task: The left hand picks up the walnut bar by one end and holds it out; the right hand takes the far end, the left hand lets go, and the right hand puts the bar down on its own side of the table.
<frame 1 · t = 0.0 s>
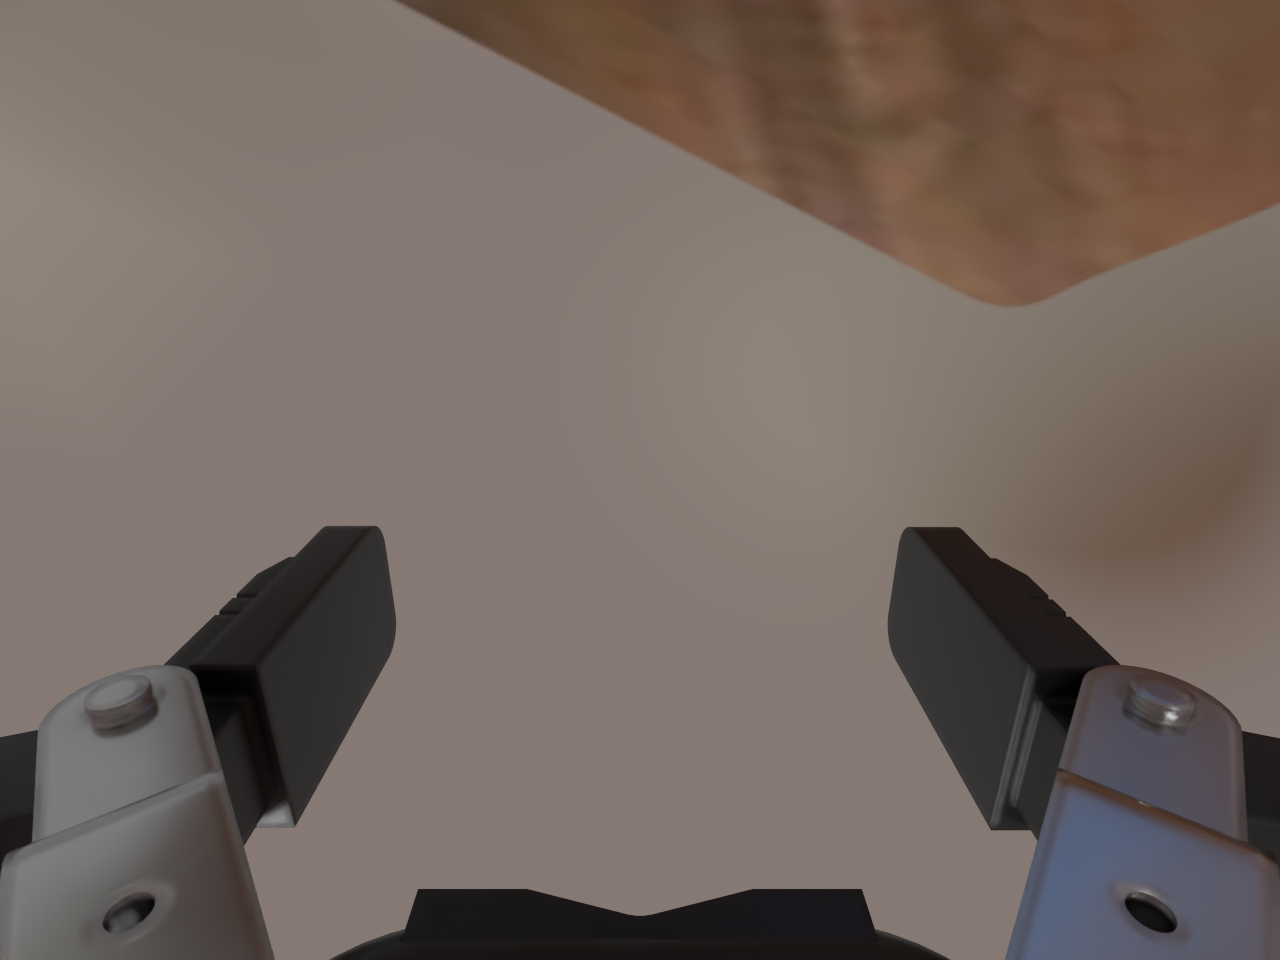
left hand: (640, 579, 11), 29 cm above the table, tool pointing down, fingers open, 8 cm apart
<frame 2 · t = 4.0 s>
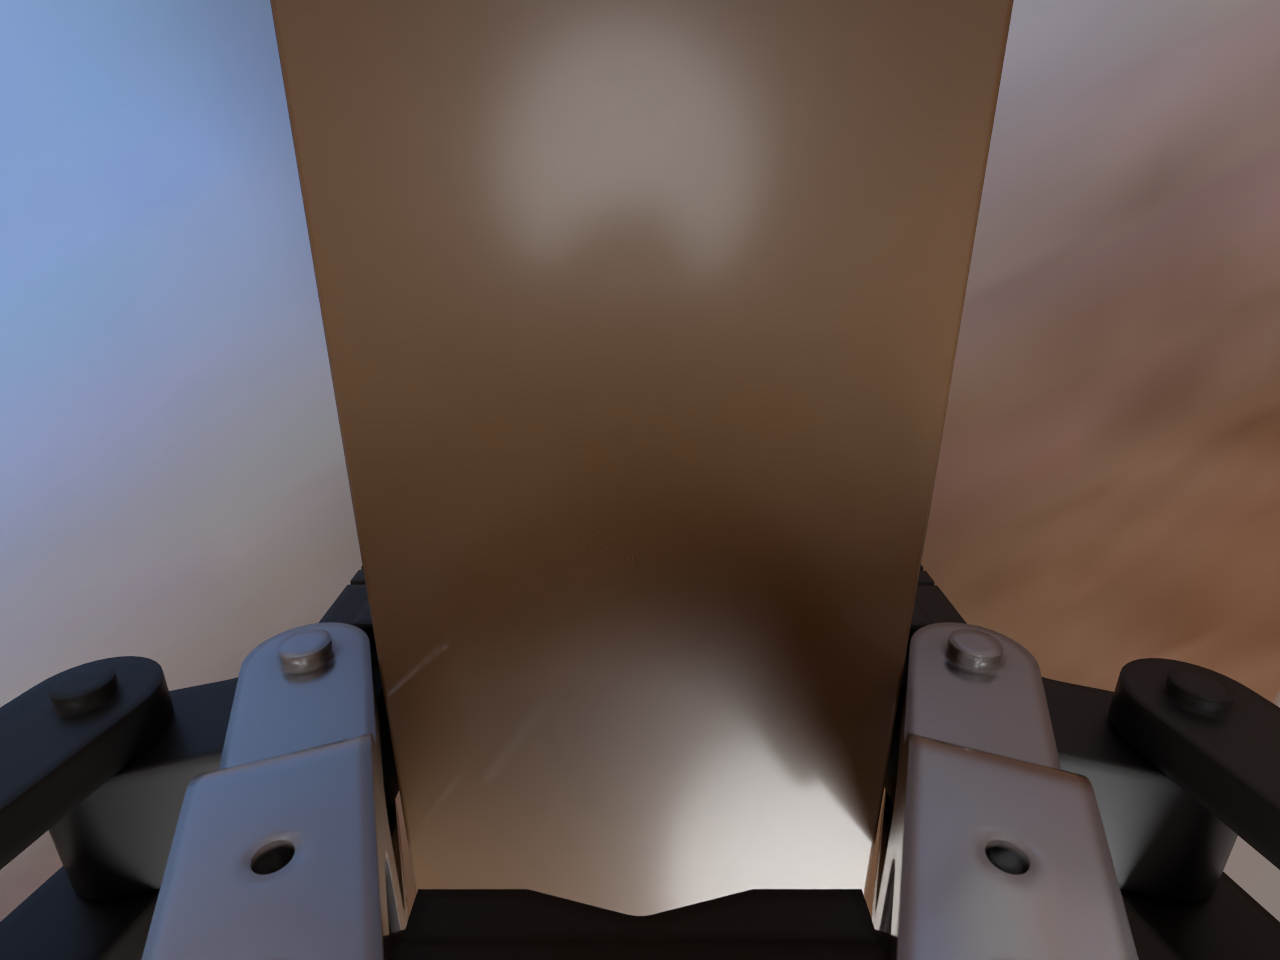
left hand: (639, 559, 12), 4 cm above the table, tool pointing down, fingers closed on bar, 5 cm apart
bar: (641, 75, 12), on the table, touching left hand
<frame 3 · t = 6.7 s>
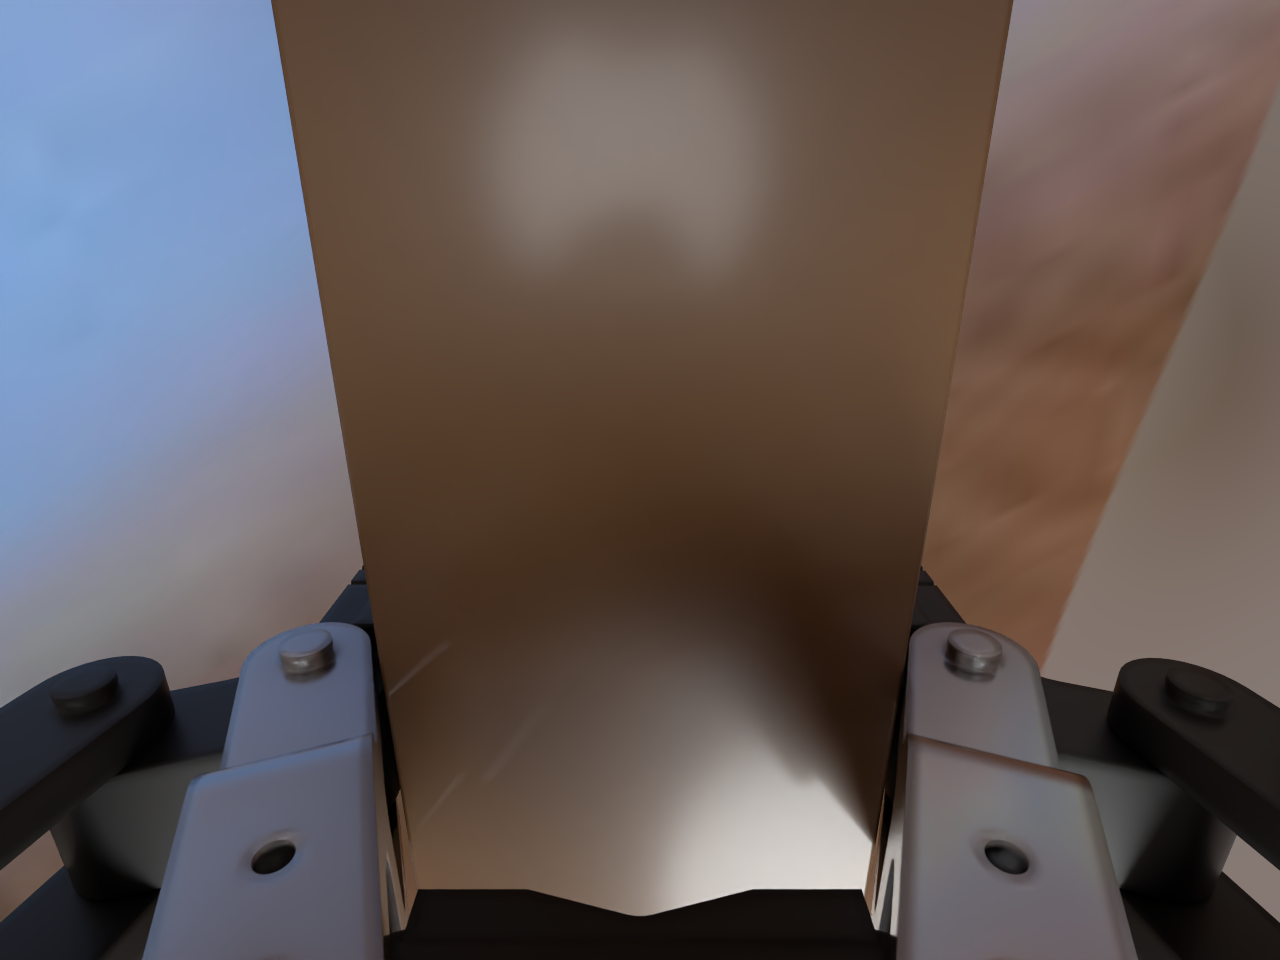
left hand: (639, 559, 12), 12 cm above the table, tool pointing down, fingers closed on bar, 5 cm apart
bar: (641, 75, 12), point 8 cm above the table, touching left hand
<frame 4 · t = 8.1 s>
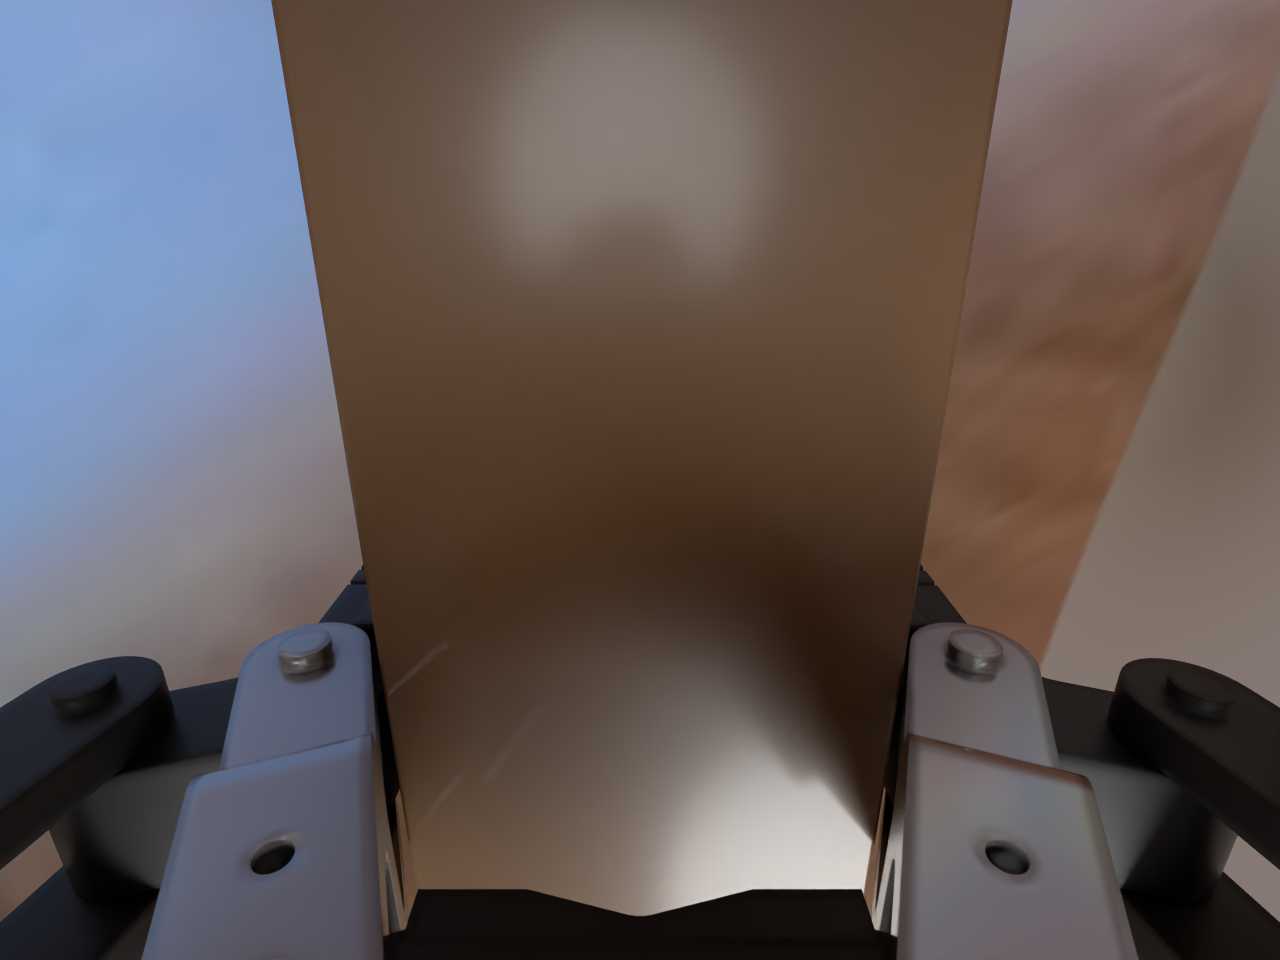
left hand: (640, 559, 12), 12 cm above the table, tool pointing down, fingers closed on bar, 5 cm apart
bar: (641, 75, 12), point 8 cm above the table, touching left hand, right hand
when the left hand's fingers open (12 cm above the table, at t = 9.3 s): bar stays where it is, held by the right hand.
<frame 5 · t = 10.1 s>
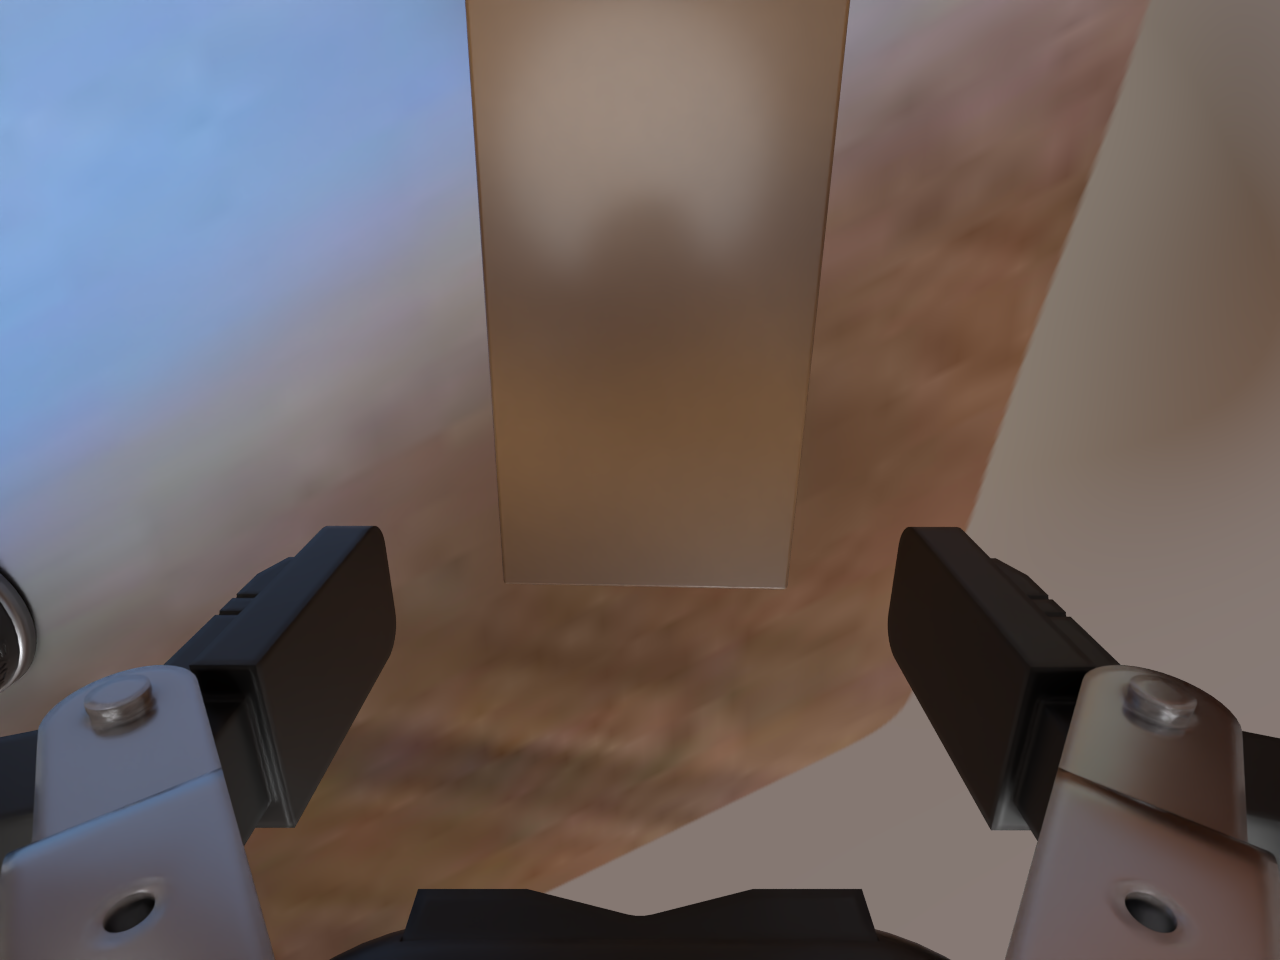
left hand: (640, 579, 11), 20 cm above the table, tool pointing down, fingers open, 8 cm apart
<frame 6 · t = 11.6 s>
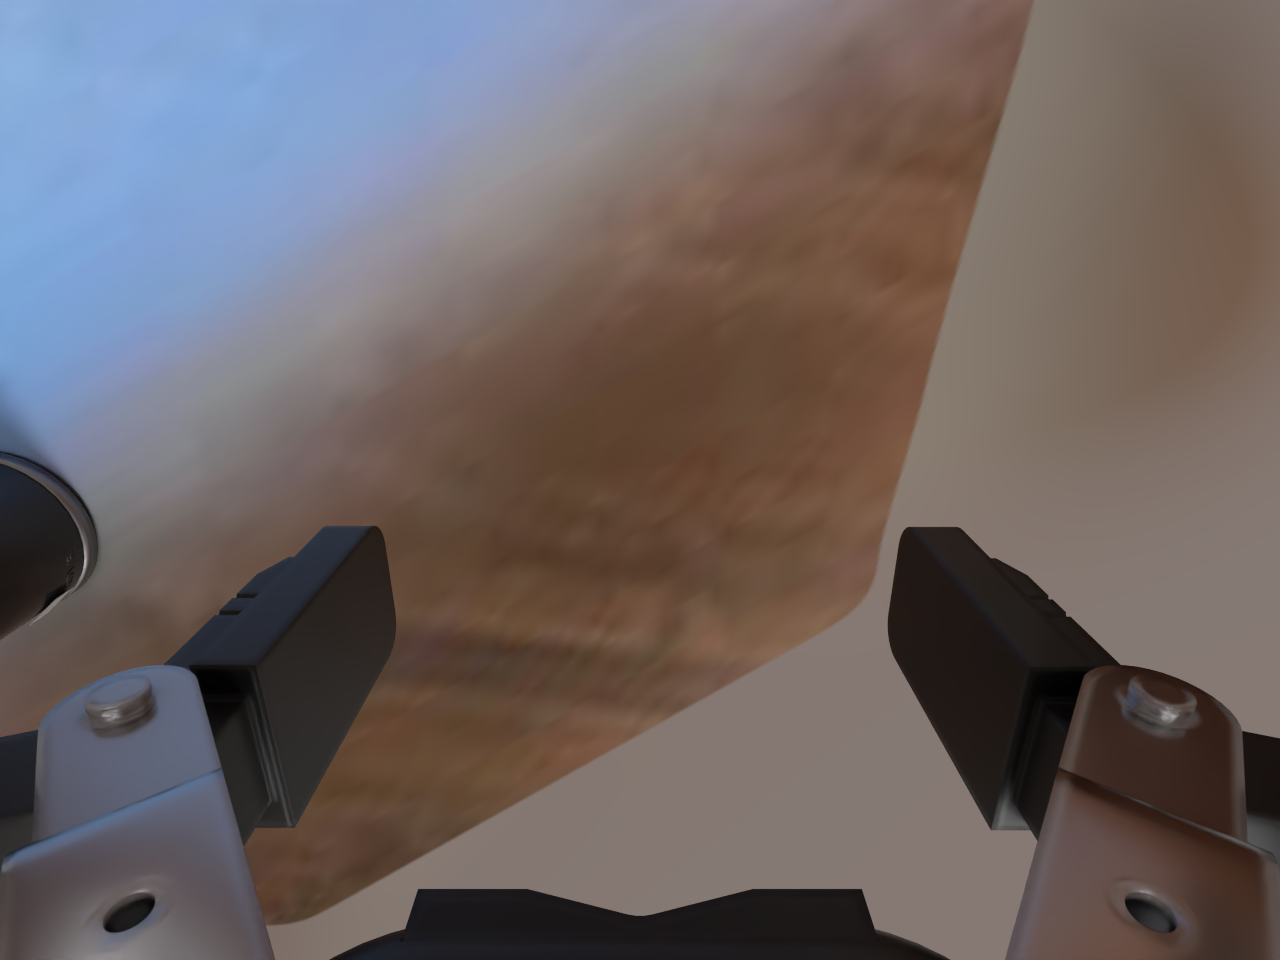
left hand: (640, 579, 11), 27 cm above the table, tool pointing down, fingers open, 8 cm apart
when the right hand's fingers open (4 cm above the table, at t = 15.0 s): bar stays where it is, on the table.
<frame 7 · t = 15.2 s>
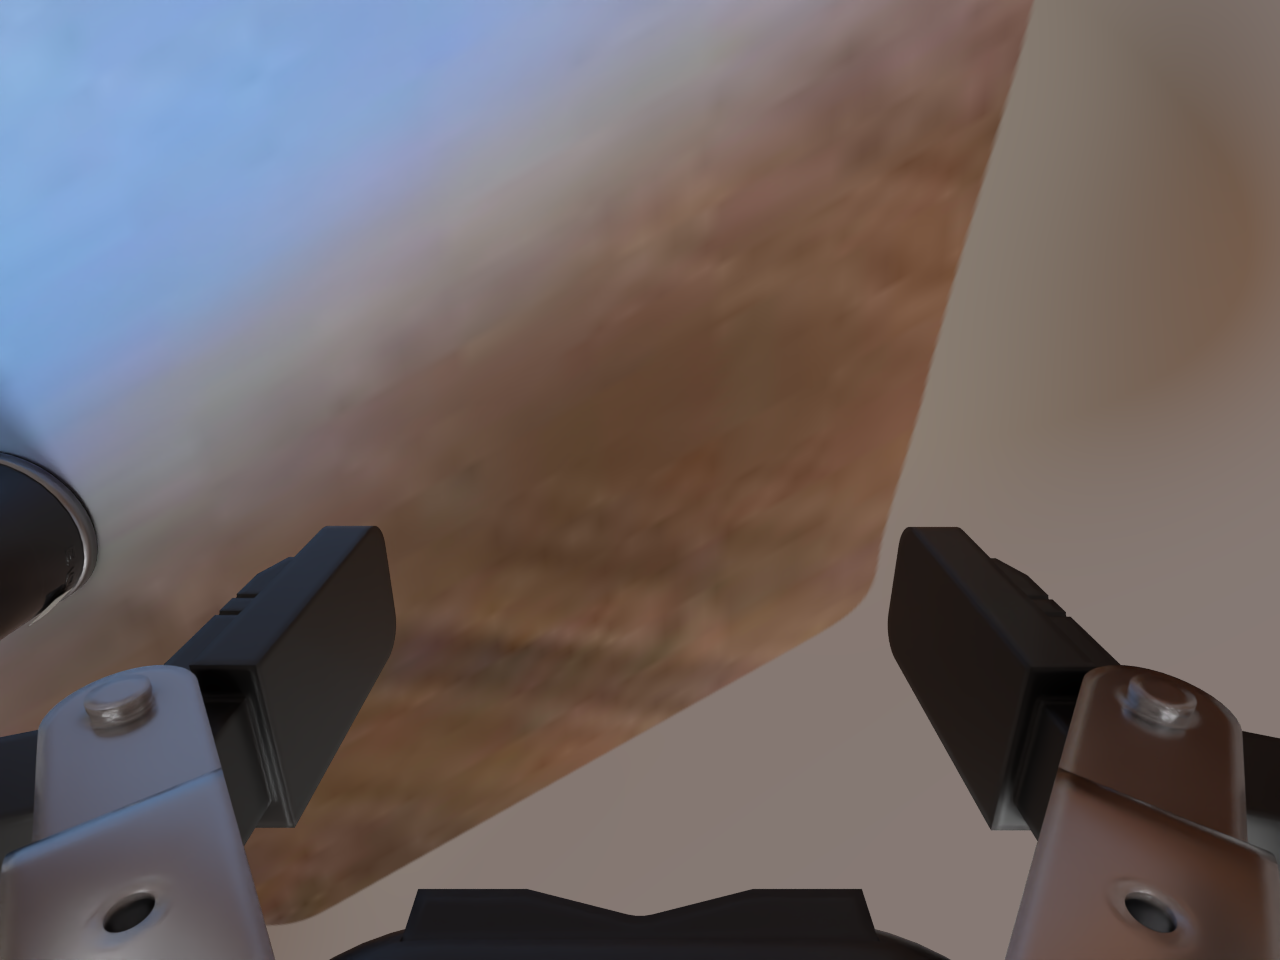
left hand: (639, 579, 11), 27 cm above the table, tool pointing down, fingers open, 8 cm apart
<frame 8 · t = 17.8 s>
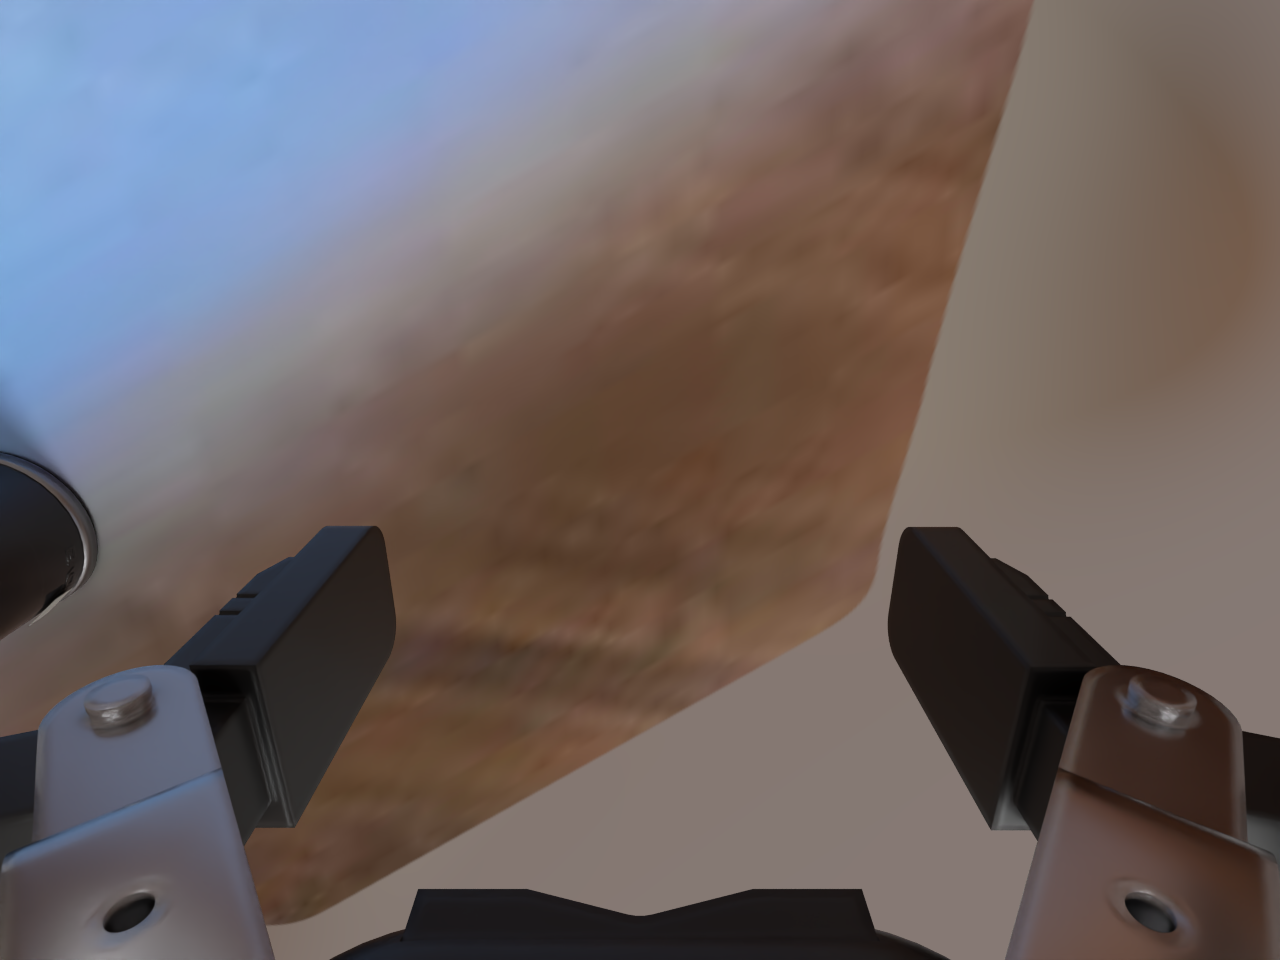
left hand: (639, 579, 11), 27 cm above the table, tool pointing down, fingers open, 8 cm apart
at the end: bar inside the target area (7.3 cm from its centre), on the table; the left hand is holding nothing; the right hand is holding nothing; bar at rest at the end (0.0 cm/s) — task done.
